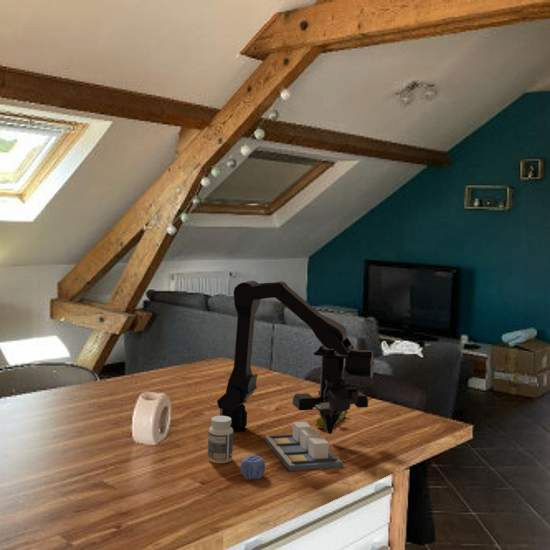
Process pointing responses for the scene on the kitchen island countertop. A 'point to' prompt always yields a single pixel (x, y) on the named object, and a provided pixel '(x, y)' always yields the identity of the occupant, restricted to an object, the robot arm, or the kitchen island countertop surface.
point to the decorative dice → (252, 467)
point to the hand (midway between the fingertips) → (329, 433)
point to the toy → (342, 415)
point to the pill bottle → (220, 440)
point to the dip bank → (298, 454)
